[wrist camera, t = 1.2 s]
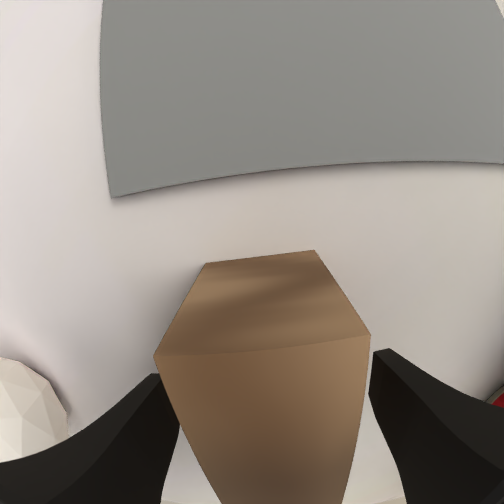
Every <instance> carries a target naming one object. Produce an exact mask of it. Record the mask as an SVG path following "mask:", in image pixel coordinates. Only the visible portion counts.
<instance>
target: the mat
mask: <svg viewBox="0 0 504 504" xmlns="http://www.w3.org/2000/svg"><path fill="white" fill-rule="evenodd" d="M100 99H101V118H102V131H103V142H104V152H105V161H106V169H107V176H108V183H109V190H110V196H111V198H114V197H119V196H123V195H128V194H132V193H137V192H142V191H147V190H151V189H156V188H162V187H167V186H172V185H177V184H183V183H189V182H194V181H200V180H206V179H213V178H219V177H226V176H233V175H240V174H247V173H255V172H263V171H271V170H280V169H289V168H299V167H310V166H321V165H334V164H350V163H368V162H396V161H456V162H481V163H498V164H504V18H503V16H502V14H501V12H500V9H499V7H498V5H497V3H496V1H495V0H103V10H102V22H101V39H100Z"/></svg>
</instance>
